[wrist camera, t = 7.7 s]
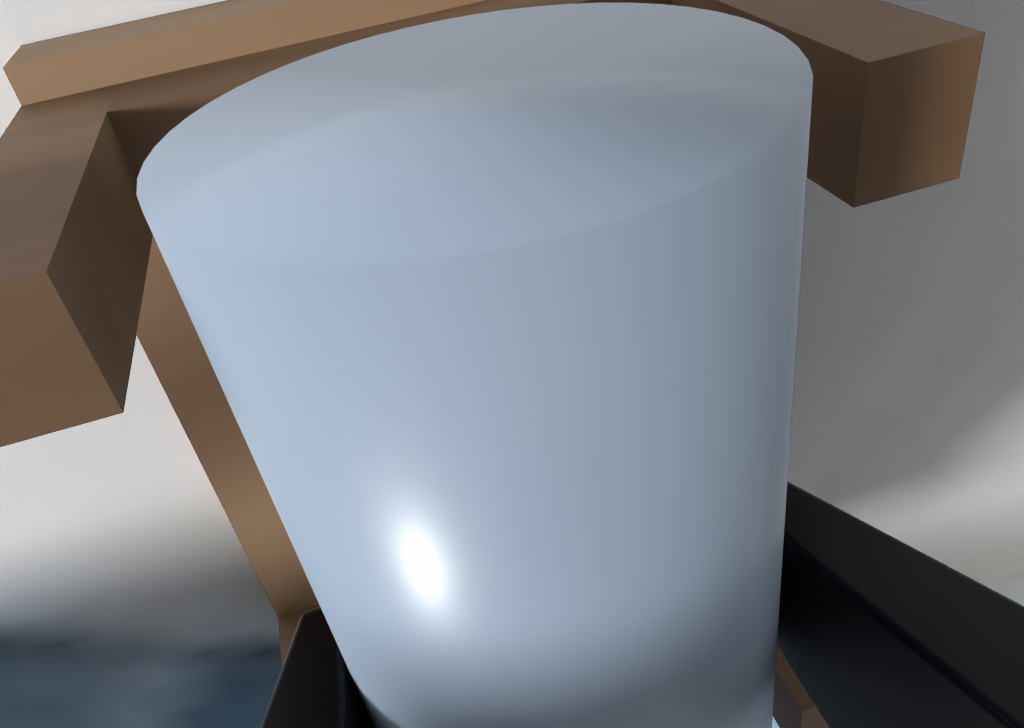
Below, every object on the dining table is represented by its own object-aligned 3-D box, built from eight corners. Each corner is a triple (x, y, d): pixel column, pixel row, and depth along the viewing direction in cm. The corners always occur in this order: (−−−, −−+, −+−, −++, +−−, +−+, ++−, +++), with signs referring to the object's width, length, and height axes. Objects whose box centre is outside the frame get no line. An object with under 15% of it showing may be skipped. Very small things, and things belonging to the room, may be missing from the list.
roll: (677, 669, 14) (827, 955, 11) (427, 759, 14) (497, 1094, 10) (641, -27, 8) (988, 120, 4) (158, 83, 7) (97, 366, 4)
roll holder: (693, 501, 17) (856, 748, 13) (301, 629, 16) (331, 948, 11) (676, -97, 11) (994, -23, 6) (21, 45, 9) (-154, 258, 5)
